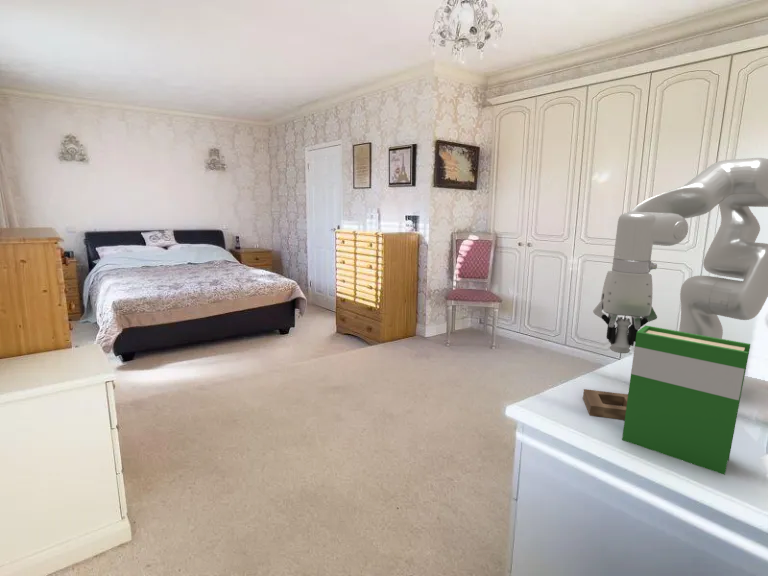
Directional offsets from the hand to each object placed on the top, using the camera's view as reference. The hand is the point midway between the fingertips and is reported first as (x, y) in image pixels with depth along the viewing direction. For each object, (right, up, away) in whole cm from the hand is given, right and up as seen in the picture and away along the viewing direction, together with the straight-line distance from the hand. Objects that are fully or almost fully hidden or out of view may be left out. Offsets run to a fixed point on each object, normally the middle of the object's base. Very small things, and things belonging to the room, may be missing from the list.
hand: (620, 342), depth 105 cm
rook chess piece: (0, -2, 0) cm, 2 cm away
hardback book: (+3, -21, -14) cm, 25 cm away
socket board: (+1, -17, +2) cm, 17 cm away
